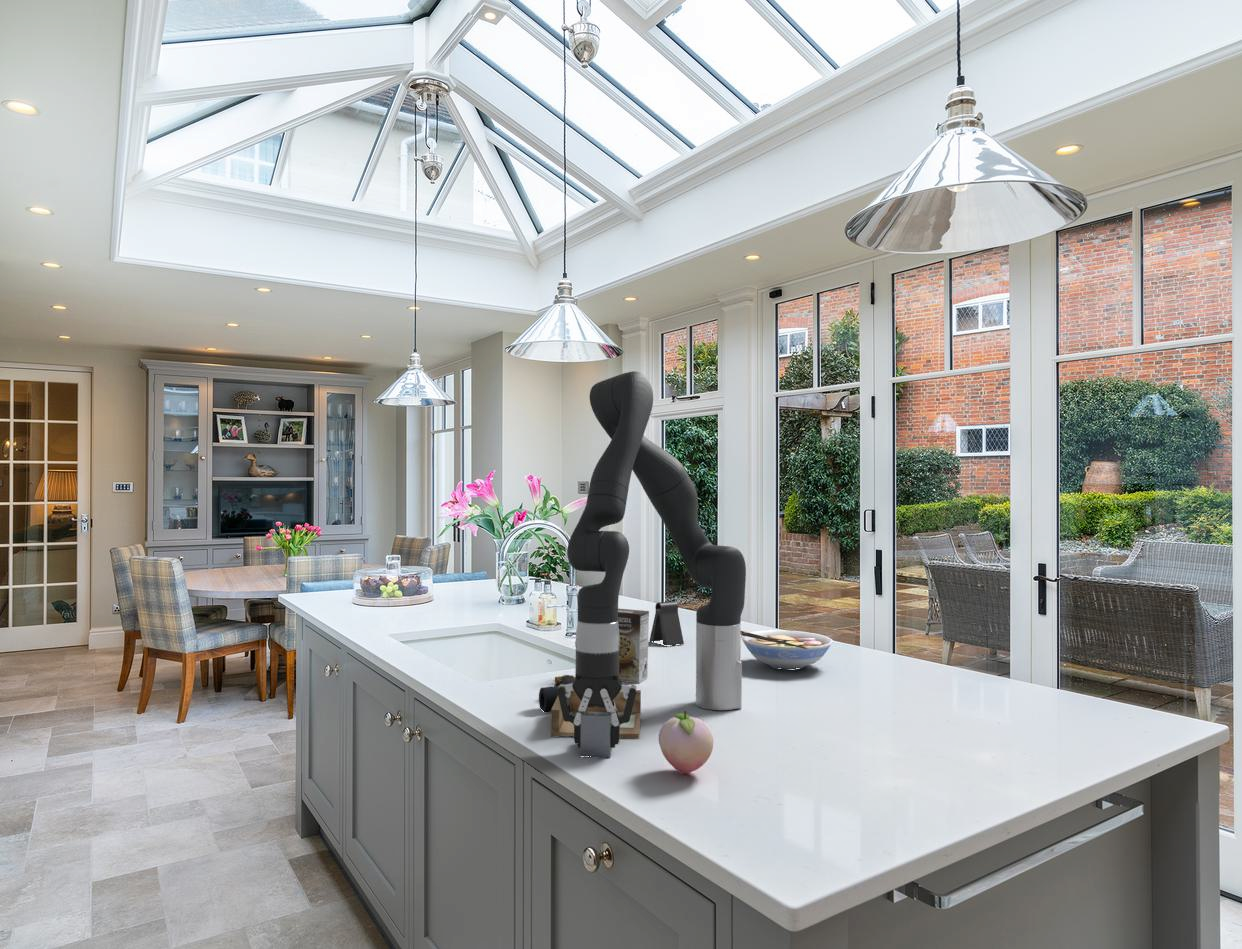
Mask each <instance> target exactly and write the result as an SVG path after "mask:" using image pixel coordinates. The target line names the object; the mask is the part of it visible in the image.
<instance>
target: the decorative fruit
mask: <svg viewBox="0 0 1242 949" xmlns="http://www.w3.org/2000/svg"><path fill="white" fill-rule="evenodd" d="M658 732H659V733H658V744H659V747H660V751H661V753H662V755H663V756H664V758H665V759H666V761H667V762H668V764H669V765H671V766H672V767H673V769H675V771H677V772H678V773H681V774H682V775H686V774H691V773H692V772H695V771H697V770H699V769H700V768H701V767H702V766H703V765H705V764H706V763H707V762H708V760H709V759H710V757H711V755H712V752H713V749H714V737H713V733H712V730H711V729H710V728H709V726H708V725H707V724H706V723H705V722H704V721H702V720H701V719H699V718H697V717H694V716H690V714H687V711H686V710H684V711H683V713H675V714H674V716H673V717H672V718H669V719H668V720H666V721H665V723H663V725H662V726H661V728H660V730H659V731H658Z"/></svg>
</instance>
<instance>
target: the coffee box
mask: <svg viewBox="0 0 1242 949" xmlns="http://www.w3.org/2000/svg"><path fill="white" fill-rule="evenodd" d="M649 617H650V611H649V610H640V609H626V608H618V627H619V643H620V645H619V678H620V681H621V682H624V681H628V682H627V683H632V682H637V683H636V684H640V683H642V682H643V681H645V680H647V679H648V678H649V628H650V627H649V620H650V618H649ZM647 677H648V678H647ZM646 678H647V679H646ZM644 679H645V680H644ZM641 681H642V682H641Z"/></svg>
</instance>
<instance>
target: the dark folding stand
mask: <svg viewBox="0 0 1242 949" xmlns="http://www.w3.org/2000/svg"><path fill="white" fill-rule="evenodd" d="M654 608H655V613H654V618H653V623H652V628H651V631H650V632H651V633H650V635H649V642H650V641H653V642H654V641H660V640H663V644H664V645H676V644H684V645H685V642H684V637H683V631H682V627H681V622H680V617H679V616H680V615H679V604H678V602H677V601H675V600H673V601H661V602H660V601H659V602H656V603H655V607H654Z"/></svg>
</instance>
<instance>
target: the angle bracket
mask: <svg viewBox="0 0 1242 949" xmlns="http://www.w3.org/2000/svg"><path fill="white" fill-rule="evenodd" d="M611 724H612V723H611V714H608V713H603V712H585V713H581V743H580V747H579V748H580V750H579V751H580V756H589V757H588V758H593V757H608V758H607V759H611V756H612V751H613V748H611ZM610 755H611V756H610ZM580 756H579V757H580ZM590 756H591V757H590Z"/></svg>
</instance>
